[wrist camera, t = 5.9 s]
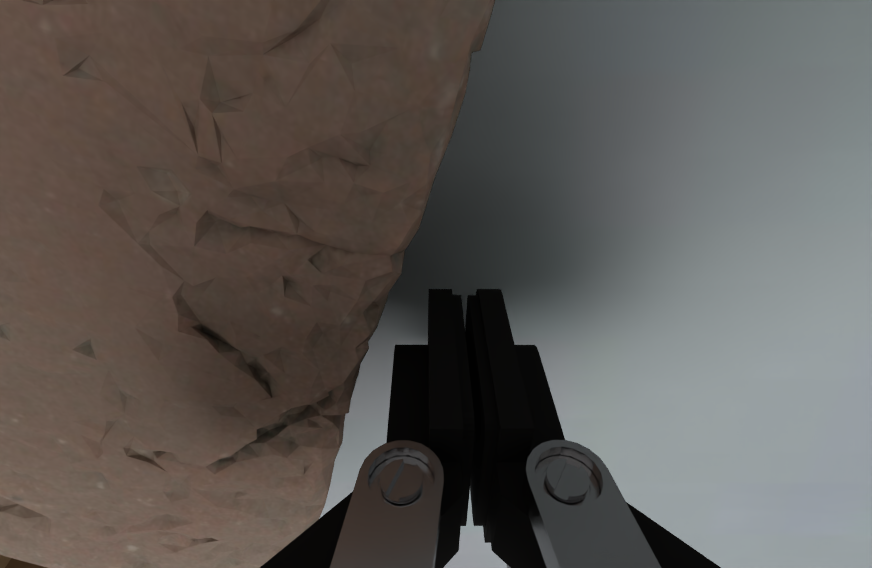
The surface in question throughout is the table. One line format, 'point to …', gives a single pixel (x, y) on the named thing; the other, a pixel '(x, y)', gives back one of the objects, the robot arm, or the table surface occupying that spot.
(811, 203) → the table surface
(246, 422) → the brick
